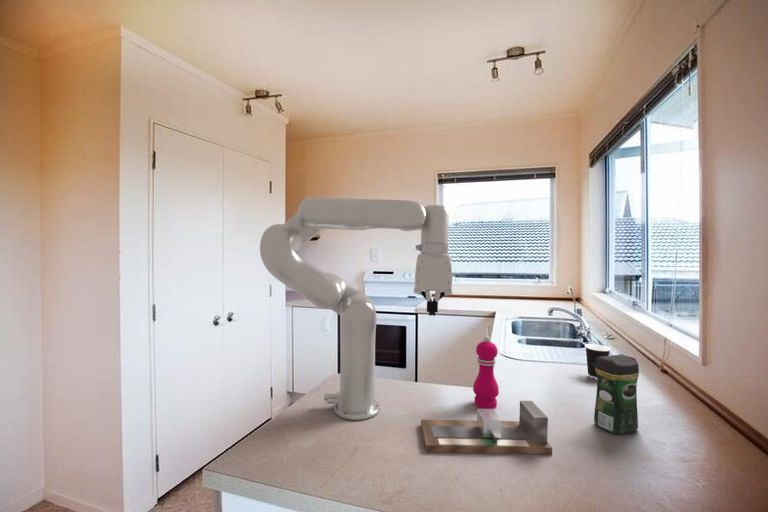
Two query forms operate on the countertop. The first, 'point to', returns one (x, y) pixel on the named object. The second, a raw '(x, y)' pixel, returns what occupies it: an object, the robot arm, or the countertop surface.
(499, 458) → the countertop surface
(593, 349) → the dixie cup
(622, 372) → the coffee jar
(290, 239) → the robot arm
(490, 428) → the gauge slider
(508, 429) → the base
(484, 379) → the pepper mill
